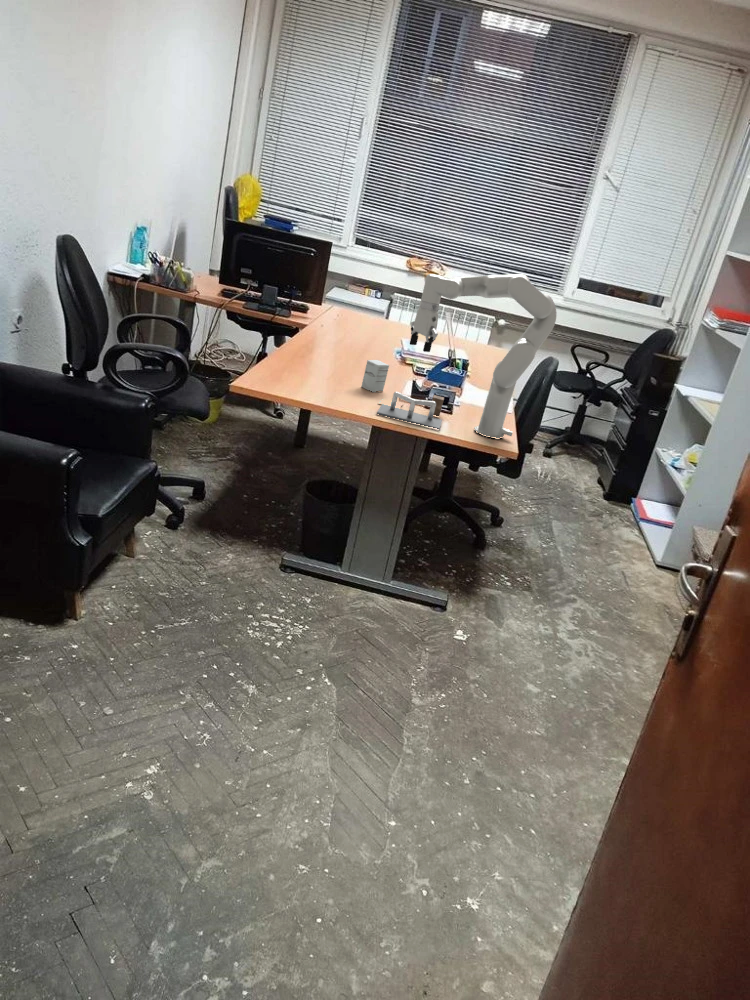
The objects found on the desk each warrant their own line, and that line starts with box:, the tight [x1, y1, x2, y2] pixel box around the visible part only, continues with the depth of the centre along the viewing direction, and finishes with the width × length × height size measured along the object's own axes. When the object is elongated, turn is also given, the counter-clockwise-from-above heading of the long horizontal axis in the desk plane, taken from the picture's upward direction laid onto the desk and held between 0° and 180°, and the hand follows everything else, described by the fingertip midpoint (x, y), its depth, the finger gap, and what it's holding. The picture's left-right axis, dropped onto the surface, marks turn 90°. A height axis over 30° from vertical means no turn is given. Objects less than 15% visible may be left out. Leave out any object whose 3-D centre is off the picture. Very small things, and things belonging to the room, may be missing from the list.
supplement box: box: [361, 359, 390, 393], centre depth 336 cm, size 7×7×13 cm
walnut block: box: [431, 394, 445, 417], centre depth 321 cm, size 4×4×8 cm
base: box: [376, 404, 443, 430], centre depth 310 cm, size 26×13×1 cm, turn 81°
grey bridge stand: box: [390, 391, 436, 420], centre depth 308 cm, size 18×7×8 cm, turn 81°
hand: (419, 348), depth 309 cm, fingers open, 9 cm apart
